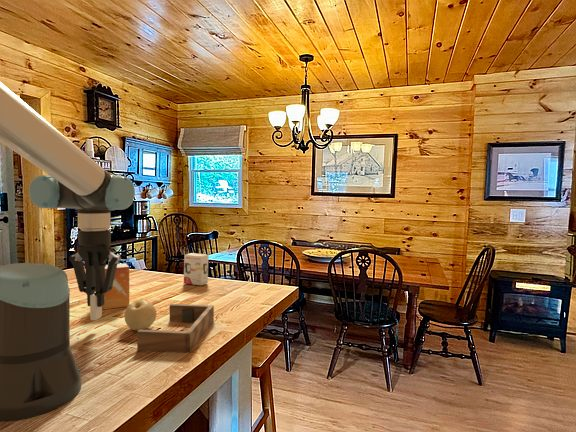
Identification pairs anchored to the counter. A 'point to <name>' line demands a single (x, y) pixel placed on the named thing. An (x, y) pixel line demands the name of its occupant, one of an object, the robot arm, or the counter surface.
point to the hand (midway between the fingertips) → (96, 318)
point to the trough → (178, 339)
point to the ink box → (196, 269)
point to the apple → (140, 315)
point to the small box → (118, 288)
